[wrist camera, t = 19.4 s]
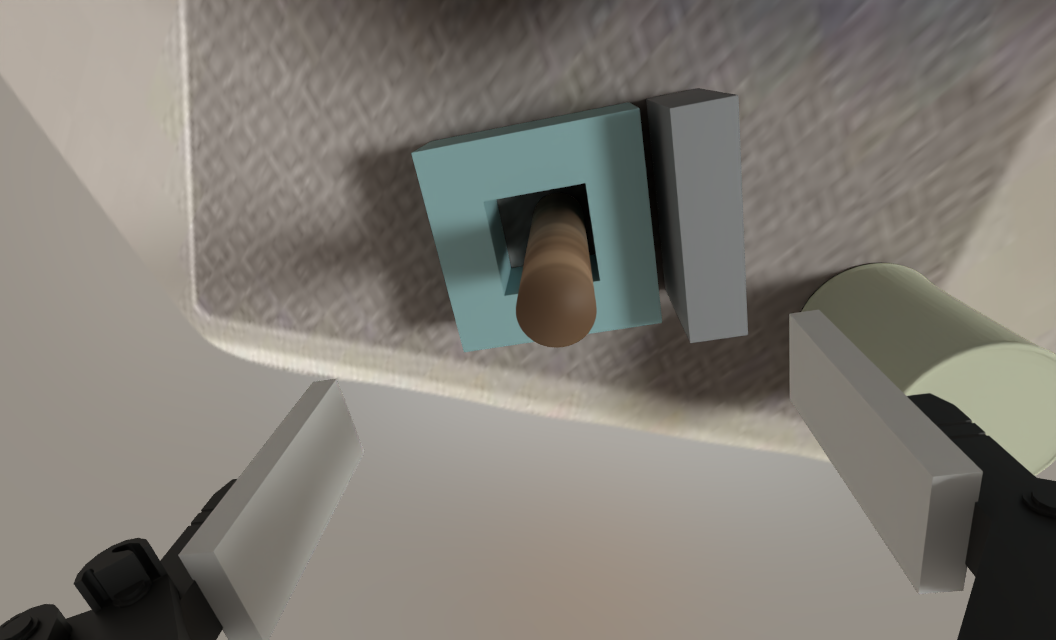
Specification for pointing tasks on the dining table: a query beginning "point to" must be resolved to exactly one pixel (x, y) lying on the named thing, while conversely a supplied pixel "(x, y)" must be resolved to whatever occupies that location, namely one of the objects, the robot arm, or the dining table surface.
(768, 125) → the dining table surface
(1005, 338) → the can
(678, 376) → the dining table surface
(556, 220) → the dowel
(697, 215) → the wall
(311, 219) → the dining table surface
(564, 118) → the block
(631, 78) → the dining table surface
